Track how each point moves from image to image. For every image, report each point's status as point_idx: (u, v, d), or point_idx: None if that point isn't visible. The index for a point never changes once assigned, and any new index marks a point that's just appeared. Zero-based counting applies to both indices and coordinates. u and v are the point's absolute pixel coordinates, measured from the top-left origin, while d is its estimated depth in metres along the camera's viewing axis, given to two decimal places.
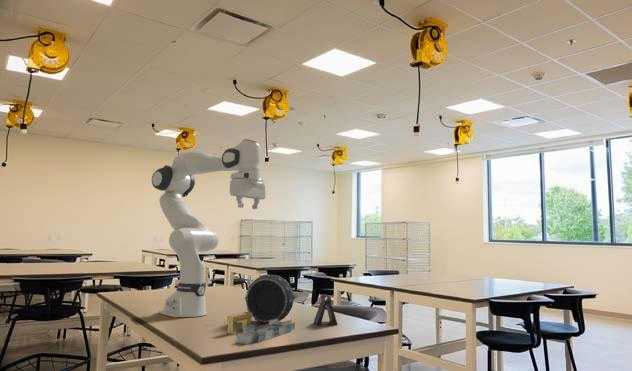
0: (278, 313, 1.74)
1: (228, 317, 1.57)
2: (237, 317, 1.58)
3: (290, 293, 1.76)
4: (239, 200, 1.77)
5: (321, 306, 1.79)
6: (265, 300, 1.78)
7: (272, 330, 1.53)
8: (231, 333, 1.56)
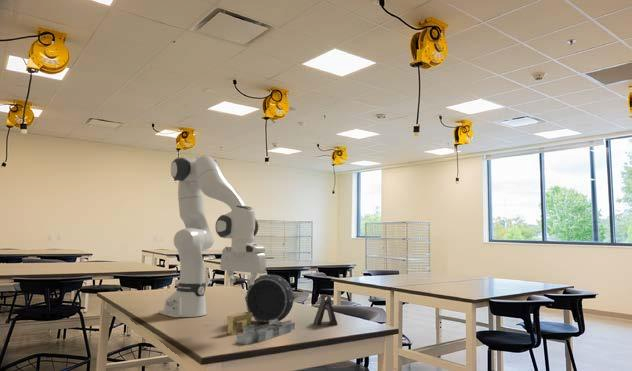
0: (278, 313, 1.74)
1: (228, 317, 1.57)
2: (237, 317, 1.58)
3: (290, 293, 1.76)
4: (255, 276, 1.60)
5: (321, 306, 1.79)
6: (265, 300, 1.78)
7: (272, 330, 1.53)
8: (231, 333, 1.56)
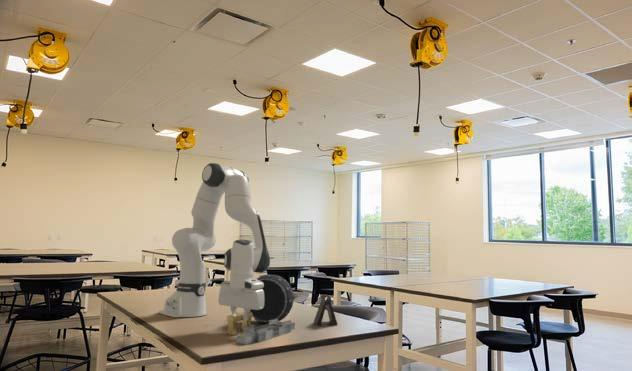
0: (278, 313, 1.74)
1: (228, 317, 1.57)
2: (237, 317, 1.58)
3: (290, 293, 1.76)
4: (248, 312, 1.60)
5: (321, 306, 1.79)
6: (265, 300, 1.78)
7: (272, 330, 1.53)
8: (231, 333, 1.56)
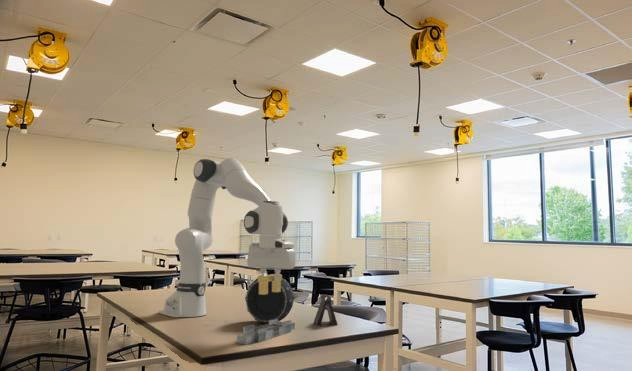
0: (278, 313, 1.74)
1: (259, 277, 1.54)
2: (268, 277, 1.55)
3: (290, 293, 1.76)
4: (279, 272, 1.57)
5: (321, 306, 1.79)
6: (265, 300, 1.78)
7: (272, 330, 1.53)
8: (262, 293, 1.53)
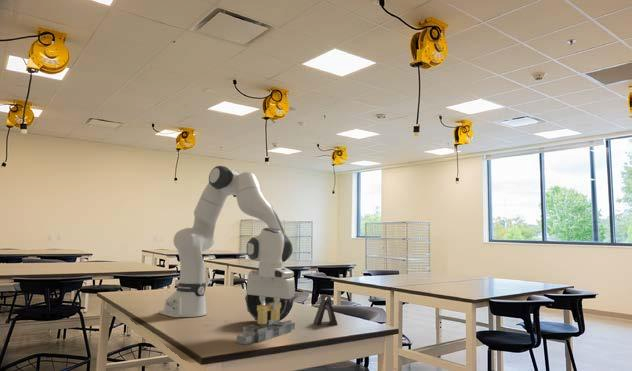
0: None
1: (258, 306, 1.53)
2: (267, 306, 1.54)
3: None
4: (278, 302, 1.56)
5: (321, 306, 1.79)
6: (265, 300, 1.78)
7: (272, 330, 1.53)
8: (261, 323, 1.52)
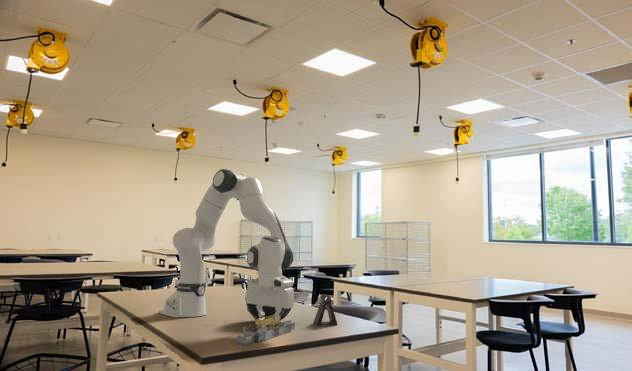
0: None
1: (257, 320, 1.52)
2: (266, 320, 1.53)
3: None
4: (279, 311, 1.55)
5: (321, 306, 1.79)
6: None
7: (272, 330, 1.53)
8: None
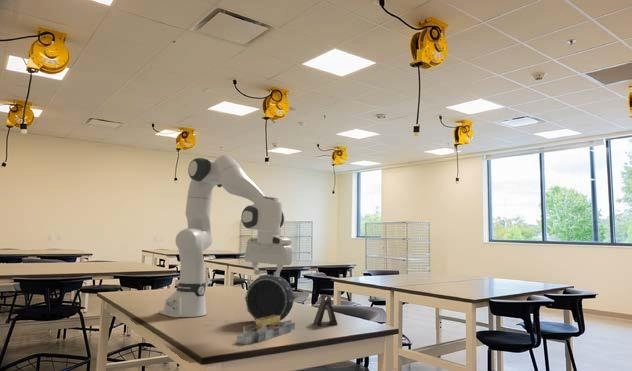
0: (278, 313, 1.74)
1: (257, 320, 1.52)
2: (266, 320, 1.53)
3: (290, 293, 1.76)
4: (280, 269, 1.57)
5: (321, 306, 1.79)
6: (265, 300, 1.78)
7: (272, 330, 1.53)
8: None
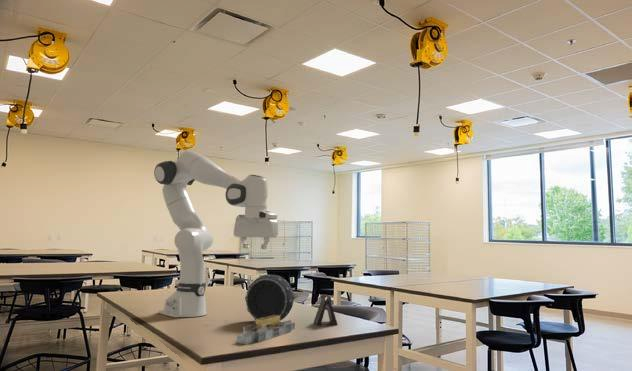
0: (278, 313, 1.74)
1: (257, 320, 1.52)
2: (266, 320, 1.53)
3: (290, 293, 1.76)
4: (267, 242, 1.68)
5: (321, 306, 1.79)
6: (265, 300, 1.78)
7: (272, 330, 1.53)
8: None
